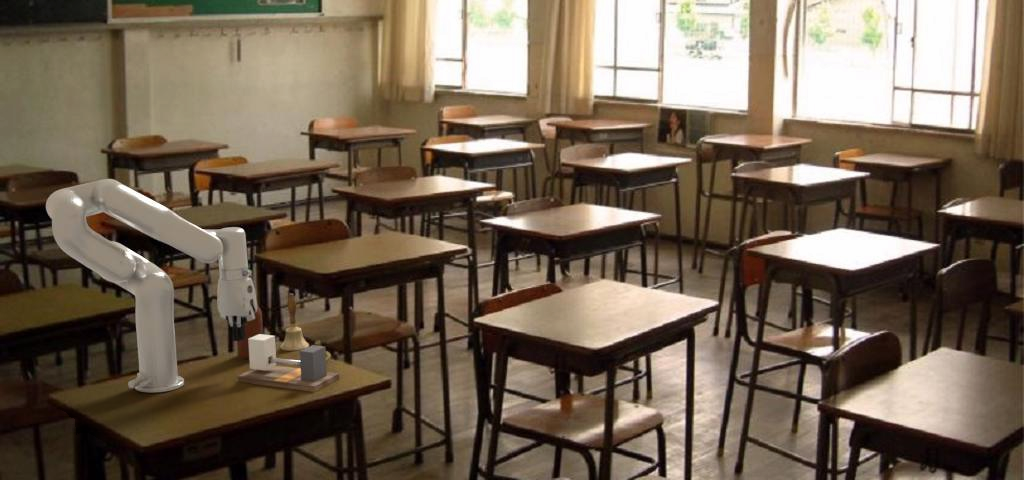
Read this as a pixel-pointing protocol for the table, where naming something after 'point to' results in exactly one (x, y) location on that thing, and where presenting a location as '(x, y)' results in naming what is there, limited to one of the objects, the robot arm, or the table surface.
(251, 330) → the bottle
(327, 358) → the seal
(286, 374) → the board
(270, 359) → the metal rod
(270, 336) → the sleeve
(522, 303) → the table surface
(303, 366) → the connector block
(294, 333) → the hand bell
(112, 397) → the table surface
